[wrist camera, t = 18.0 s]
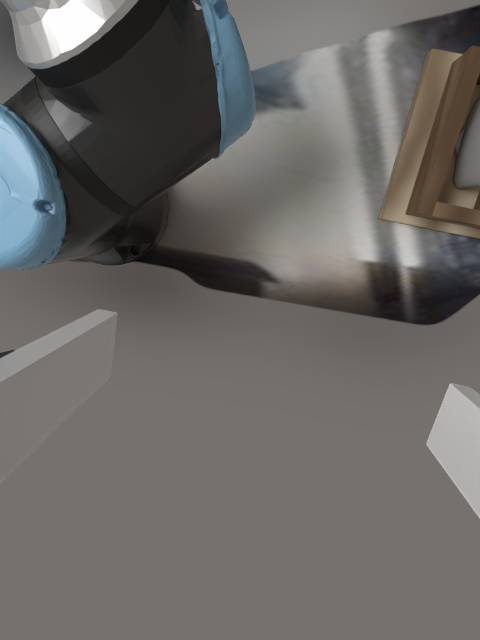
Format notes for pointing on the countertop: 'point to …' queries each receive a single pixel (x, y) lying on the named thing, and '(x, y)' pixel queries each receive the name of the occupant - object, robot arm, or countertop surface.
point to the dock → (436, 149)
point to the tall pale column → (468, 152)
